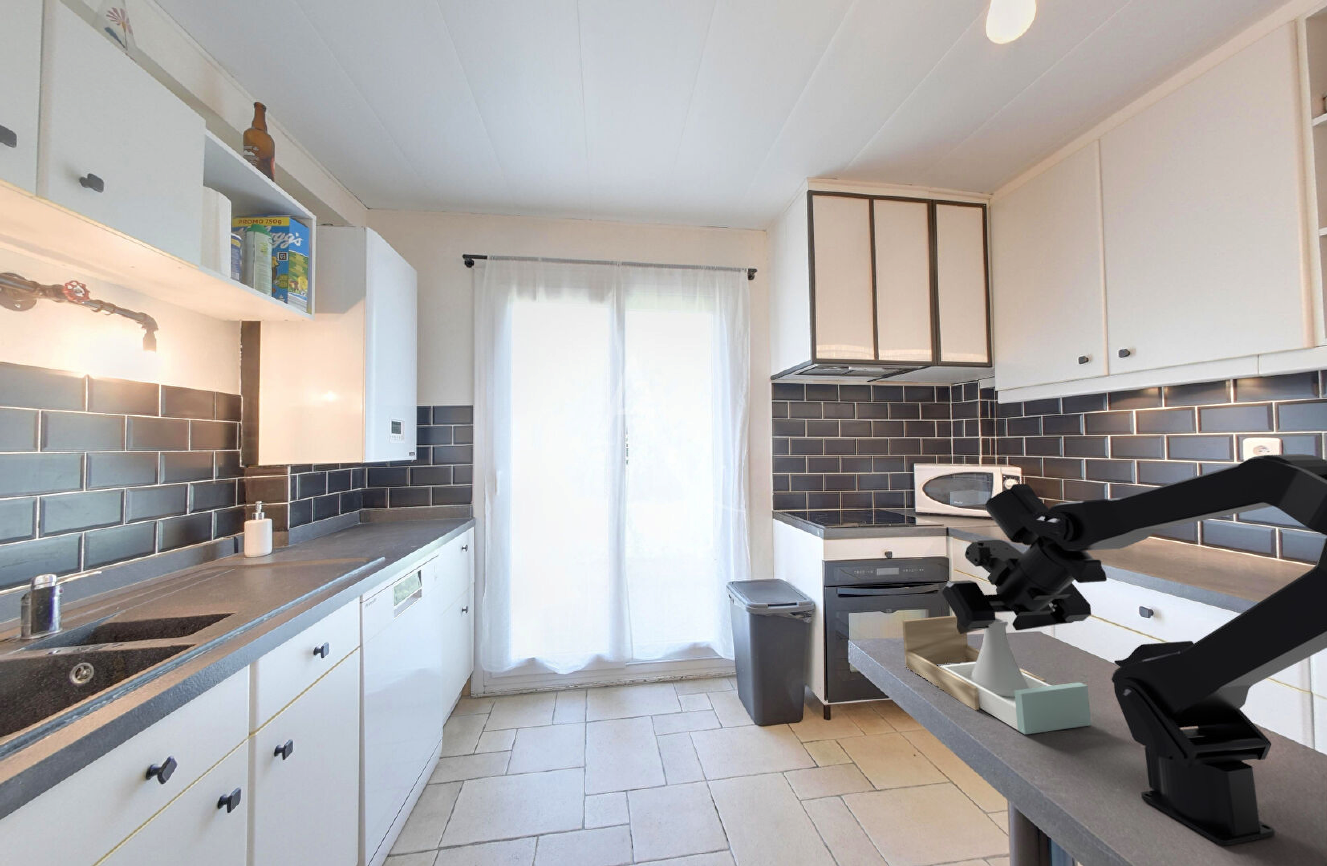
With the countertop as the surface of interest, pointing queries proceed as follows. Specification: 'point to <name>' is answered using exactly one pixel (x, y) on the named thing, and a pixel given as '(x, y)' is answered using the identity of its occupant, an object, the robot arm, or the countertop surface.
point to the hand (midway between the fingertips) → (987, 629)
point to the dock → (941, 655)
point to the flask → (997, 663)
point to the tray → (1032, 703)
